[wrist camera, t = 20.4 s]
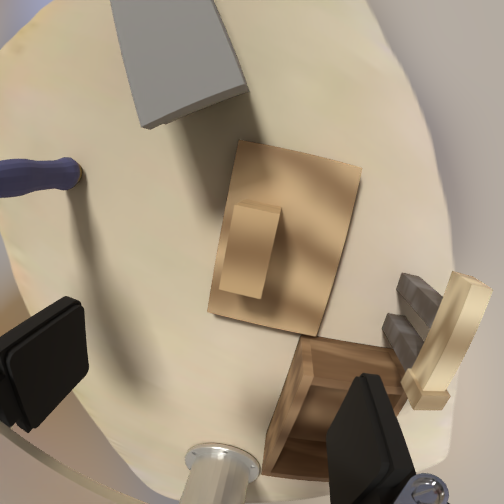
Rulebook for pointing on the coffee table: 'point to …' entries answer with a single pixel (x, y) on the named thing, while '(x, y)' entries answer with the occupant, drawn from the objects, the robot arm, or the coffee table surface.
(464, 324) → the pale wooden bar
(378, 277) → the coffee table surface
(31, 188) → the rubber mallet
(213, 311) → the lid
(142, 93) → the sharpening stone
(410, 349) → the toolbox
